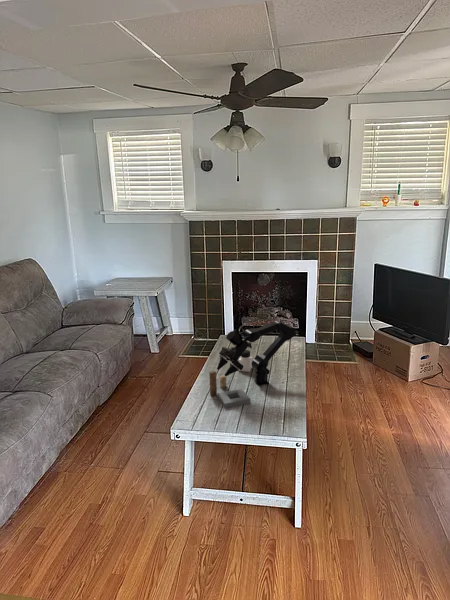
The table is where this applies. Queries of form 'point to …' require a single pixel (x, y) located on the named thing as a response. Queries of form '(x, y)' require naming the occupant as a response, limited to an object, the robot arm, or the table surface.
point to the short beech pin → (223, 381)
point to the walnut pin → (213, 383)
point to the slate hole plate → (240, 394)
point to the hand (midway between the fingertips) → (221, 372)
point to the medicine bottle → (246, 361)
